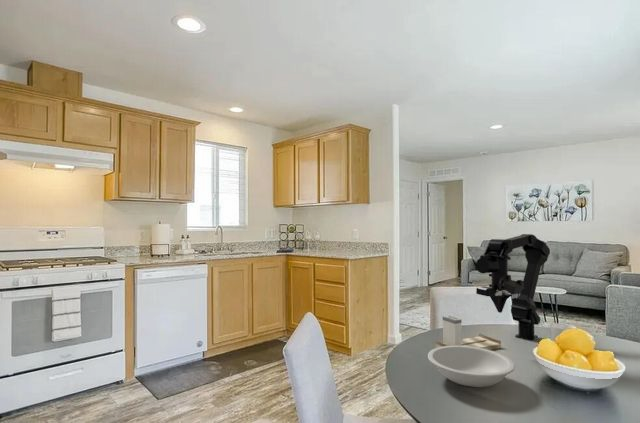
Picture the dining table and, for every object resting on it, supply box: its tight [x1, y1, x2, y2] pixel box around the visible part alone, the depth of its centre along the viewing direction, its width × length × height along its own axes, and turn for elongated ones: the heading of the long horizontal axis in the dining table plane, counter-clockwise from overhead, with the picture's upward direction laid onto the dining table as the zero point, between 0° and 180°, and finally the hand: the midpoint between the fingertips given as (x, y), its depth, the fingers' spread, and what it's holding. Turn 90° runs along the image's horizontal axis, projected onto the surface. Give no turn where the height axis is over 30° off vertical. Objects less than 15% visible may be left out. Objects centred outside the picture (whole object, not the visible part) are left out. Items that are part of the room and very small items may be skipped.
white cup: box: [549, 322, 577, 341], centre depth 134 cm, size 8×8×10 cm
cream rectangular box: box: [442, 315, 463, 346], centre depth 138 cm, size 3×6×10 cm, turn 23°
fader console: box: [435, 333, 502, 351], centre depth 141 cm, size 22×10×2 cm, turn 113°
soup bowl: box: [427, 346, 516, 388], centre depth 112 cm, size 24×24×7 cm
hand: (499, 312), depth 146 cm, fingers closed
